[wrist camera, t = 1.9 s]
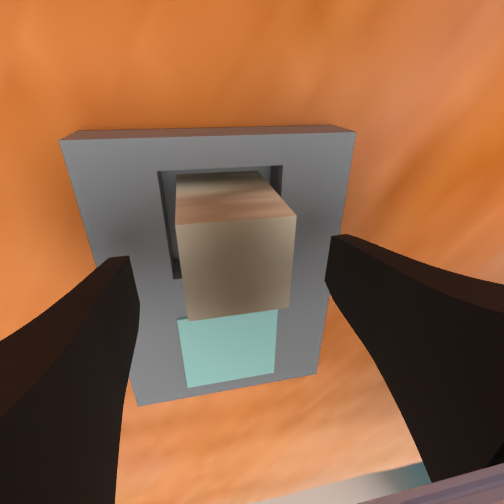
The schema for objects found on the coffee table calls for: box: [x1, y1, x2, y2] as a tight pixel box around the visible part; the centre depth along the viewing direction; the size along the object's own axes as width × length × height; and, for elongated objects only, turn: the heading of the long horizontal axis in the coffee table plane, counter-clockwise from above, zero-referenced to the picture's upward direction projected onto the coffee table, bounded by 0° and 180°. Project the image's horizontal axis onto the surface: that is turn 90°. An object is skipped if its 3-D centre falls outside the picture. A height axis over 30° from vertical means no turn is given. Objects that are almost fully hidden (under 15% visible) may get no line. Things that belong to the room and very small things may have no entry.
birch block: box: [175, 170, 297, 322], centre depth 13 cm, size 4×4×6 cm
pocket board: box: [59, 125, 356, 407], centre depth 17 cm, size 12×16×3 cm
